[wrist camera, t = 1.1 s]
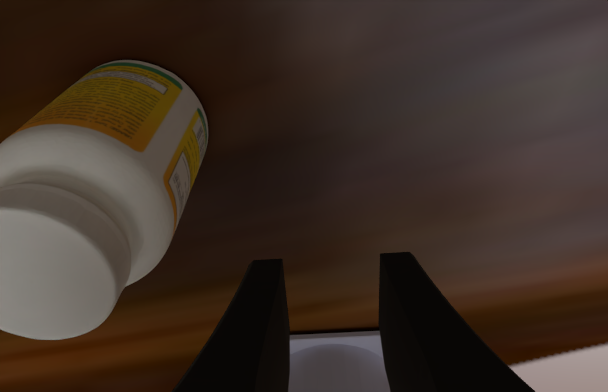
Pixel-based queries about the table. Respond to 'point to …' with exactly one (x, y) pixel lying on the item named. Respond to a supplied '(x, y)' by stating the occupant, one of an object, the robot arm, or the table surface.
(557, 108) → the table surface
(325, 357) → the robot arm
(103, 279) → the supplement bottle
